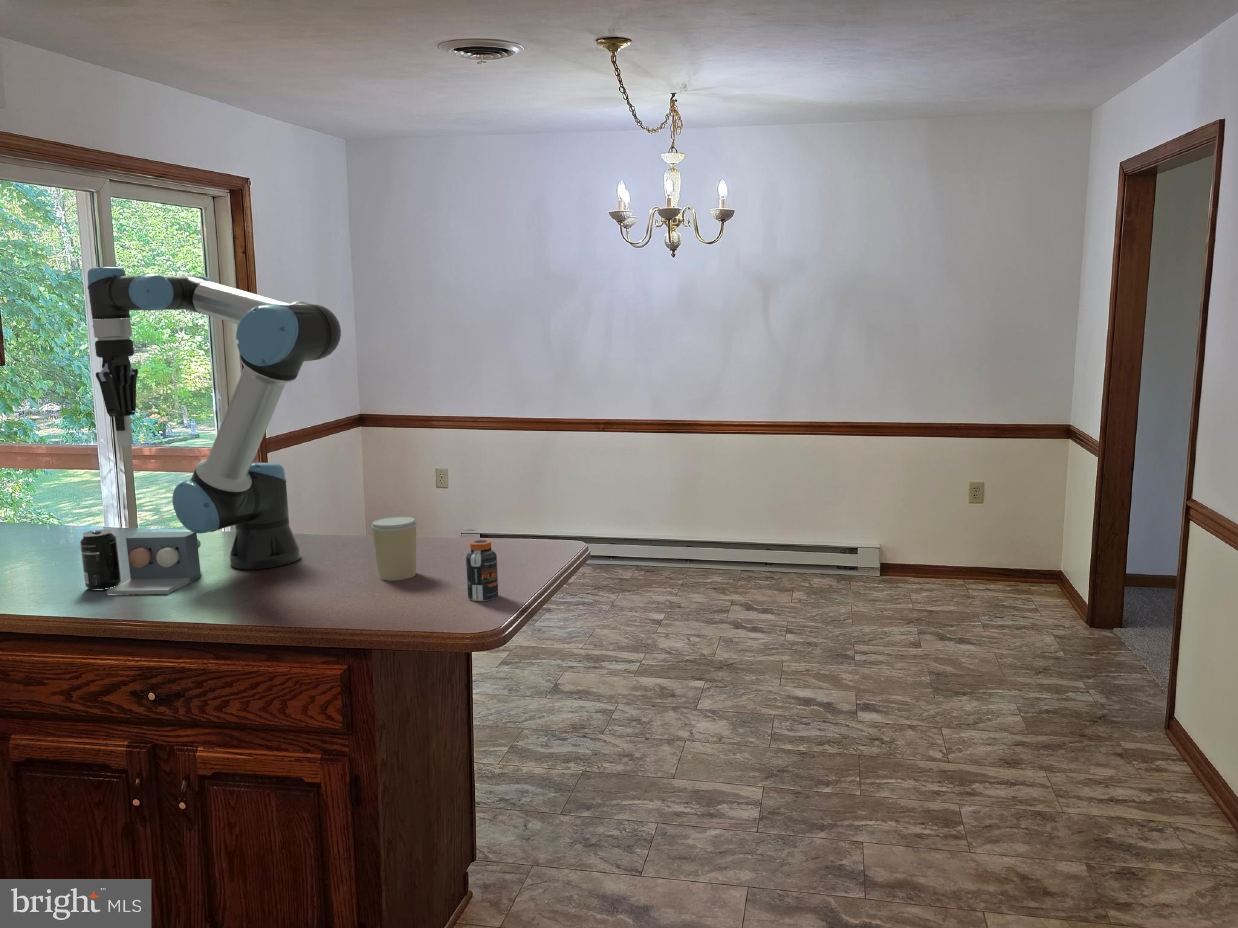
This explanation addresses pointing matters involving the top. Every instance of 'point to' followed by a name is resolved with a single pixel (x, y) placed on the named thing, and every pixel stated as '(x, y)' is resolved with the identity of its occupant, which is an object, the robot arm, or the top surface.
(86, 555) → the beverage can
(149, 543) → the mount
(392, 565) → the coffee cup
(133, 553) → the tan flanged peg
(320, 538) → the top surface
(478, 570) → the pill bottle
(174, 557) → the knob ivory
